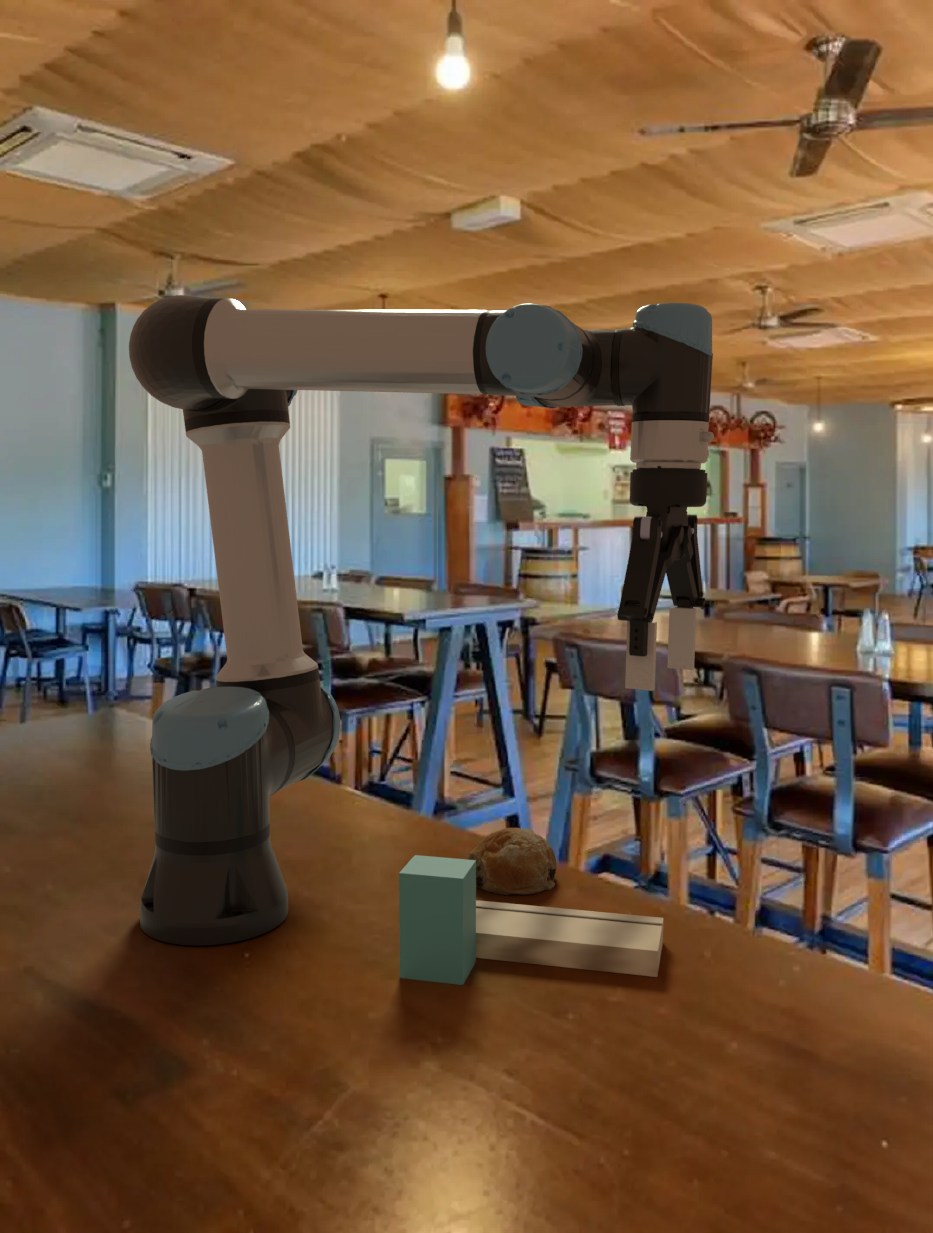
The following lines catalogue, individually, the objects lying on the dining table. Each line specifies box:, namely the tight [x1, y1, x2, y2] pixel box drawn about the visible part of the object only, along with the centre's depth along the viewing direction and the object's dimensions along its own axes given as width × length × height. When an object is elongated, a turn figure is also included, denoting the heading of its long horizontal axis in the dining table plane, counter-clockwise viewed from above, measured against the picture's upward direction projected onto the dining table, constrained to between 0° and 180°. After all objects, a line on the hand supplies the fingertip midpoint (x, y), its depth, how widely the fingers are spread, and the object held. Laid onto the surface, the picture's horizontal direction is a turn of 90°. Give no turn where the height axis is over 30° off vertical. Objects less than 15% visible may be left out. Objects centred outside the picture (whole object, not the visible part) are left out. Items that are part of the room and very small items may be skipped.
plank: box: [476, 899, 664, 978], centre depth 106 cm, size 23×8×3 cm, turn 76°
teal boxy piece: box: [398, 854, 477, 986], centre depth 104 cm, size 6×13×10 cm, turn 166°
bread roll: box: [467, 827, 557, 896], centre depth 124 cm, size 10×10×8 cm
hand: (661, 678), depth 109 cm, fingers open, 13 cm apart
